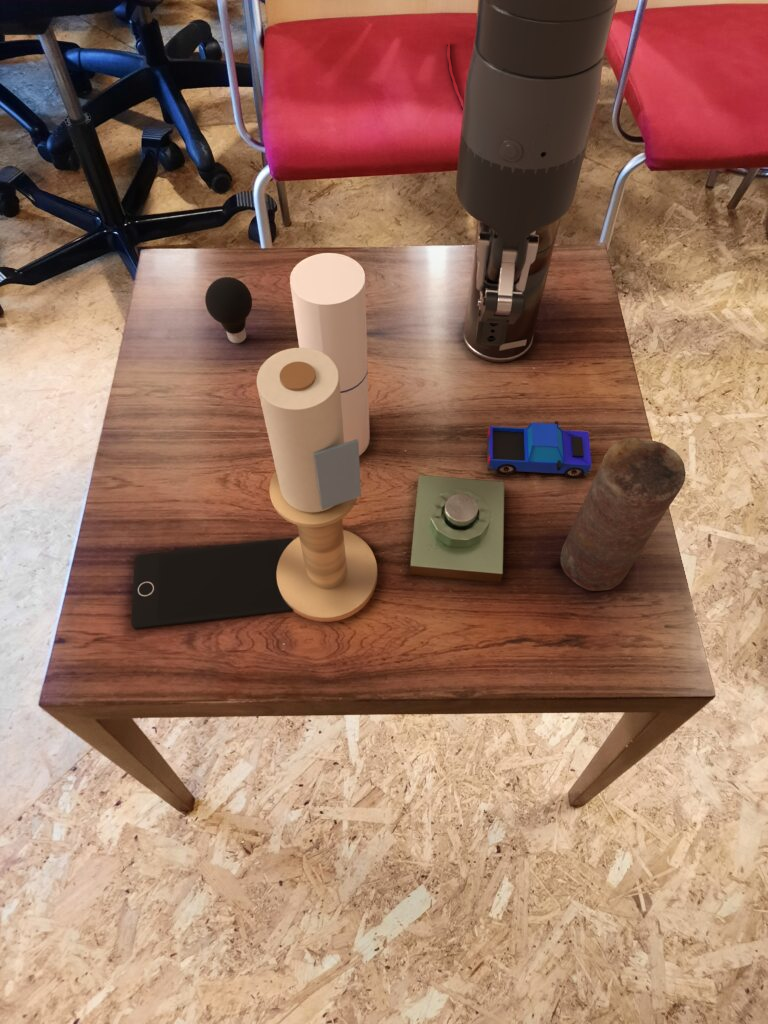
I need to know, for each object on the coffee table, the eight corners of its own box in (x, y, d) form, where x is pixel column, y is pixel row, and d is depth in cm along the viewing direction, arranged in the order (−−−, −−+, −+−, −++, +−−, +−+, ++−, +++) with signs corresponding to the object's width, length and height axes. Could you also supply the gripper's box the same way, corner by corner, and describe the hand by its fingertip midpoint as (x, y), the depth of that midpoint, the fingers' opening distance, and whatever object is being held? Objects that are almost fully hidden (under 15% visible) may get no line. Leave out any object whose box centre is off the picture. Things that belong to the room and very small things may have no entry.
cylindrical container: (362, 466, 89) (356, 309, 67) (305, 456, 90) (281, 298, 68) (375, 420, 92) (372, 258, 71) (319, 411, 93) (300, 248, 72)
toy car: (587, 485, 87) (597, 461, 83) (486, 480, 88) (491, 455, 83) (583, 440, 91) (593, 415, 86) (486, 435, 91) (490, 410, 87)
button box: (417, 484, 87) (419, 465, 84) (501, 491, 87) (506, 472, 83) (409, 574, 81) (410, 557, 78) (500, 582, 81) (505, 566, 77)
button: (444, 500, 82) (445, 492, 80) (476, 503, 82) (478, 494, 80) (442, 528, 80) (443, 520, 79) (475, 531, 80) (477, 523, 78)
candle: (608, 609, 79) (669, 512, 62) (546, 577, 81) (589, 474, 64) (635, 556, 82) (700, 450, 65) (574, 526, 84) (623, 416, 67)
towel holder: (286, 528, 84) (264, 432, 69) (382, 537, 84) (381, 441, 68) (269, 617, 78) (241, 533, 63) (371, 626, 78) (368, 544, 63)
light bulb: (268, 336, 100) (257, 278, 92) (241, 363, 97) (228, 306, 89) (234, 319, 102) (221, 261, 93) (207, 345, 99) (191, 288, 91)
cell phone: (137, 558, 83) (134, 554, 82) (296, 541, 84) (295, 537, 83) (133, 631, 78) (130, 628, 77) (301, 612, 79) (301, 608, 78)
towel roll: (271, 468, 66) (245, 358, 54) (336, 447, 68) (326, 334, 55) (293, 524, 63) (271, 419, 51) (361, 500, 64) (355, 393, 52)
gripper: (595, 200, 40) (538, 407, 54) (584, 69, 46) (536, 284, 61) (456, 192, 40) (437, 399, 55) (466, 63, 47) (446, 278, 62)
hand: (489, 338), depth 58 cm, fingers closed
